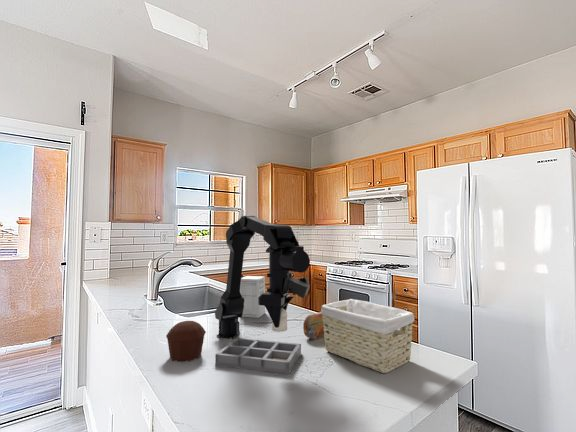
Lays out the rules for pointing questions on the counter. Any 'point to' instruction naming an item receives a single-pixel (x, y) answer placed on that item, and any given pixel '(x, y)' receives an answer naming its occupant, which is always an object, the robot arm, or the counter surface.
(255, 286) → the supplement box
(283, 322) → the egg
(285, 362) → the grey compartment tray
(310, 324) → the tin
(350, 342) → the storage basket
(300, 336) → the counter surface
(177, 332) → the muffin
